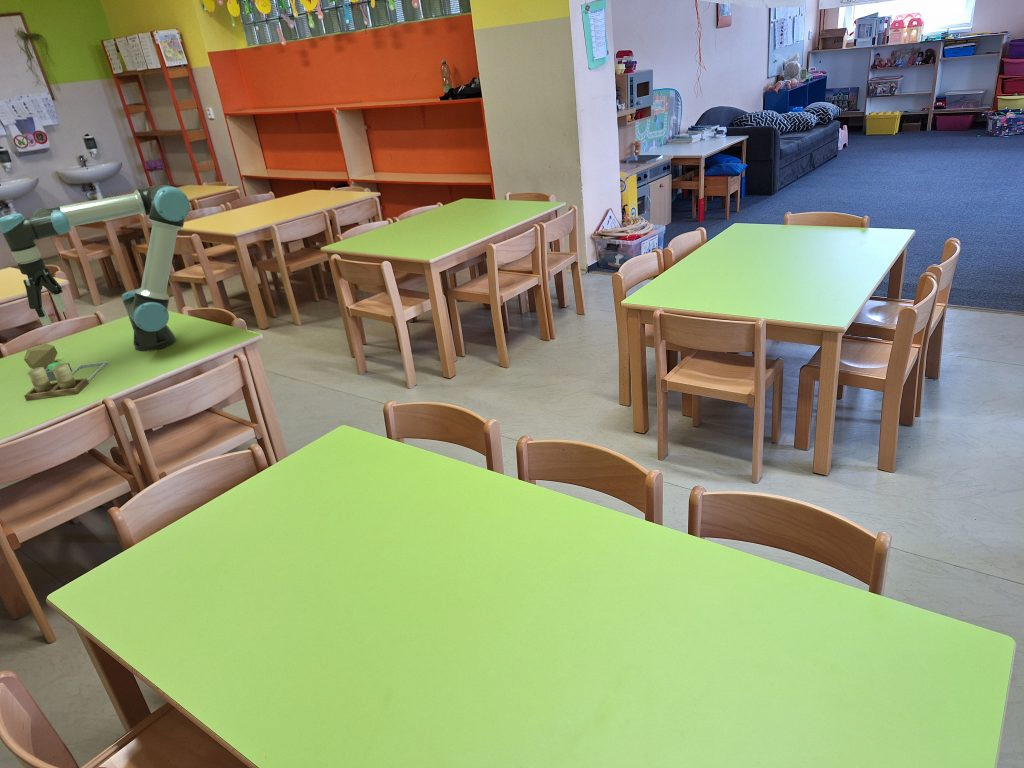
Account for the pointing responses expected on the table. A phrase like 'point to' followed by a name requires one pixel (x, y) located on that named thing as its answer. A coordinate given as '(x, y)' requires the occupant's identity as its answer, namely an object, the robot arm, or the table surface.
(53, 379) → the console
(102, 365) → the grey-green angled strip
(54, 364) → the button
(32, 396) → the wooden divided tray
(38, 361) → the low-poly potato
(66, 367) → the billet
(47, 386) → the billet
